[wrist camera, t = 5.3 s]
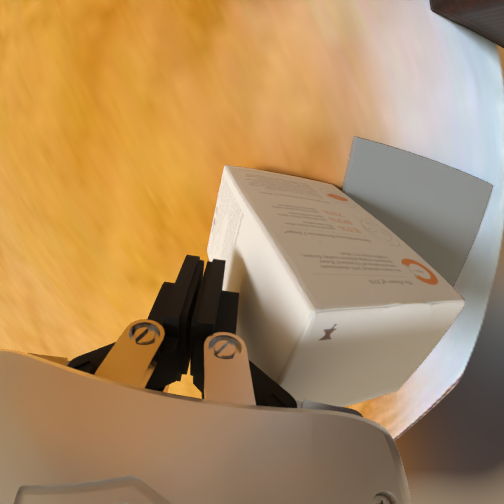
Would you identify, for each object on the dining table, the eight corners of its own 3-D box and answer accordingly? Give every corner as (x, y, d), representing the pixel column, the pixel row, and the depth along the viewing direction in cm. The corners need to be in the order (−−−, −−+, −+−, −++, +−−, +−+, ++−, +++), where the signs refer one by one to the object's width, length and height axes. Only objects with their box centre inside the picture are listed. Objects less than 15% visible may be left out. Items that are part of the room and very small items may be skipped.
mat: (353, 136, 18) (357, 137, 18) (487, 182, 19) (493, 185, 18) (308, 309, 26) (309, 314, 25) (430, 317, 26) (433, 321, 26)
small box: (205, 250, 20) (250, 427, 10) (223, 162, 17) (312, 308, 7) (307, 258, 23) (398, 393, 13) (334, 183, 20) (471, 298, 9)
